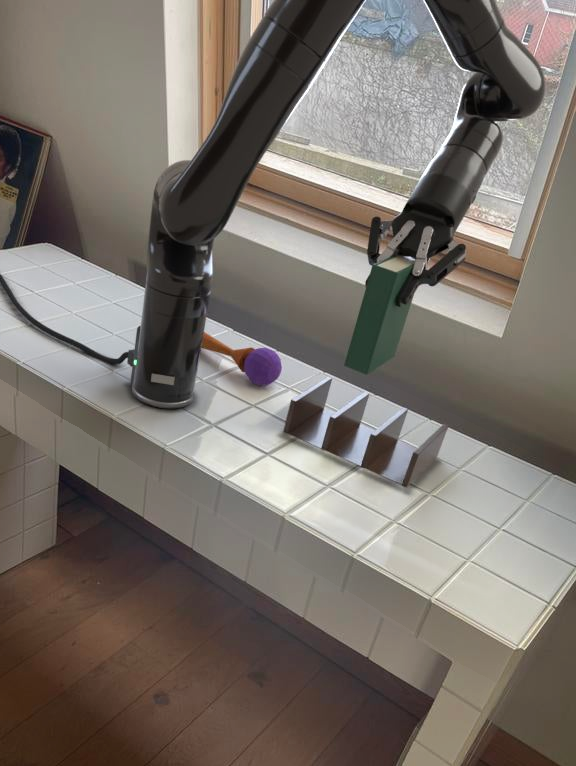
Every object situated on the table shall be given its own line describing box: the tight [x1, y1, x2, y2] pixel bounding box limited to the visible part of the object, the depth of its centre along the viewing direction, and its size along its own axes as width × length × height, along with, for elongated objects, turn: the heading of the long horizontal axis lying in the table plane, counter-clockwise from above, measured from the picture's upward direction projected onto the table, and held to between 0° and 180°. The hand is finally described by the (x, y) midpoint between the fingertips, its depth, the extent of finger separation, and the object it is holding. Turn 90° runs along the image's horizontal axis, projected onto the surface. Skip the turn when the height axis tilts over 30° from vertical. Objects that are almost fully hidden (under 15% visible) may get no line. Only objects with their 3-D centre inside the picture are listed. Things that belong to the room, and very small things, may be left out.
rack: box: [283, 376, 449, 488], centre depth 119 cm, size 20×12×6 cm, turn 55°
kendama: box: [201, 331, 283, 386], centre depth 136 cm, size 6×6×20 cm
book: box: [343, 254, 416, 376], centre depth 110 cm, size 4×10×14 cm, turn 145°
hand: (383, 297), depth 107 cm, fingers closed on book, 3 cm apart
